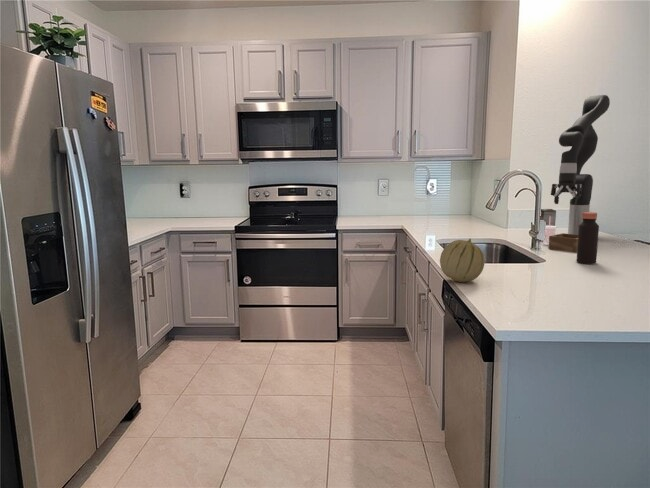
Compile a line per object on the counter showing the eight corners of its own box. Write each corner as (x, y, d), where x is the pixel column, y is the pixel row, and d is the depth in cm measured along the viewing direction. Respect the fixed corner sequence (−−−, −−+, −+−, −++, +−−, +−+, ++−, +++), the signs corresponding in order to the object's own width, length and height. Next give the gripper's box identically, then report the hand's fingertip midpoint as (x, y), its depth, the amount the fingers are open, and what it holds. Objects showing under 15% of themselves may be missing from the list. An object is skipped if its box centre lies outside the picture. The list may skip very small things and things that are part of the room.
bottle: (579, 260, 177) (582, 211, 174) (598, 262, 173) (602, 212, 169) (574, 263, 173) (577, 213, 169) (593, 265, 168) (597, 214, 164)
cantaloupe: (430, 280, 154) (431, 238, 151) (460, 274, 161) (461, 234, 158) (462, 289, 141) (463, 244, 138) (493, 282, 148) (494, 239, 145)
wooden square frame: (561, 245, 210) (562, 233, 209) (588, 248, 200) (588, 235, 199) (548, 248, 203) (549, 236, 202) (575, 252, 193) (575, 238, 192)
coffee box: (536, 238, 230) (538, 208, 228) (549, 238, 229) (551, 208, 226) (541, 241, 221) (543, 210, 219) (554, 241, 220) (556, 210, 217)
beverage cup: (540, 243, 218) (542, 215, 215) (554, 243, 216) (555, 215, 214) (542, 245, 212) (544, 216, 210) (556, 245, 210) (558, 216, 208)
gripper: (586, 172, 215) (583, 205, 218) (557, 172, 227) (554, 203, 229) (578, 172, 211) (575, 205, 213) (550, 172, 223) (547, 203, 225)
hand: (564, 204), depth 221 cm, fingers open, 8 cm apart
